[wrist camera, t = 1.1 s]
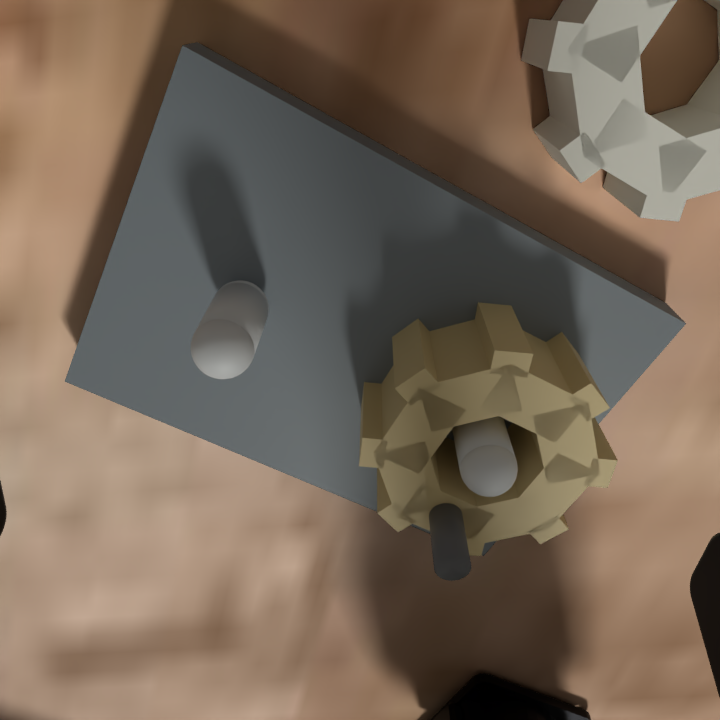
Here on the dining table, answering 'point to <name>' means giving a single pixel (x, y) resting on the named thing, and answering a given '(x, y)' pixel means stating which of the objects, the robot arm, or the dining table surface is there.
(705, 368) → the dining table surface
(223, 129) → the gear board
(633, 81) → the loose gear
